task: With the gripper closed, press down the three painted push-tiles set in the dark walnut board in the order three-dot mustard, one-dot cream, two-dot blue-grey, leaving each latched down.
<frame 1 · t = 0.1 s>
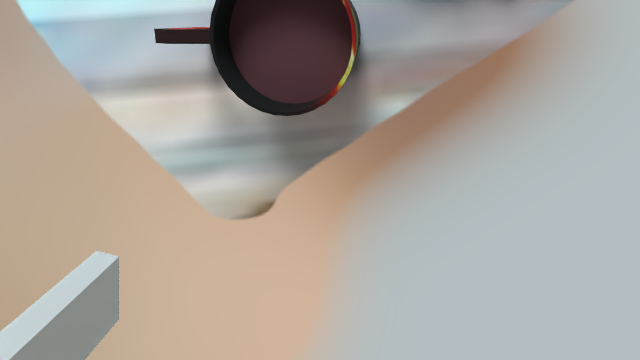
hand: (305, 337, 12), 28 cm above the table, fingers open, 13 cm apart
mug: (289, 45, 36), on the table
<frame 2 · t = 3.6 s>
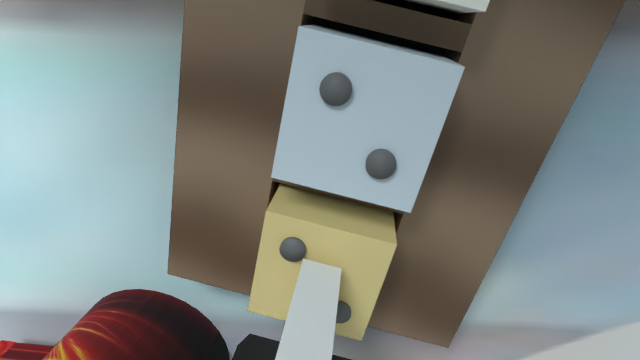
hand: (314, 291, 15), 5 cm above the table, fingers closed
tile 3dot: (321, 256, 16), point 3 cm above the table, slide at 0.2 cm, touching gripper
board: (361, 98, 16), on the table
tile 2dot: (360, 115, 13), point 3 cm above the table, slide at 0.0 cm
mug: (134, 353, 25), on the table
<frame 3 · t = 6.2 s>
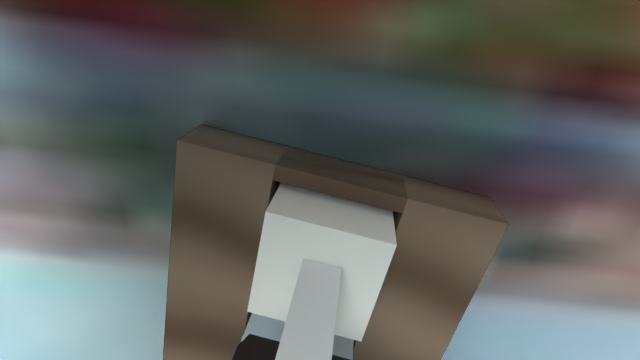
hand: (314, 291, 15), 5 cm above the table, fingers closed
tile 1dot: (321, 256, 16), point 3 cm above the table, slide at 0.1 cm, touching gripper
board: (302, 317, 22), on the table
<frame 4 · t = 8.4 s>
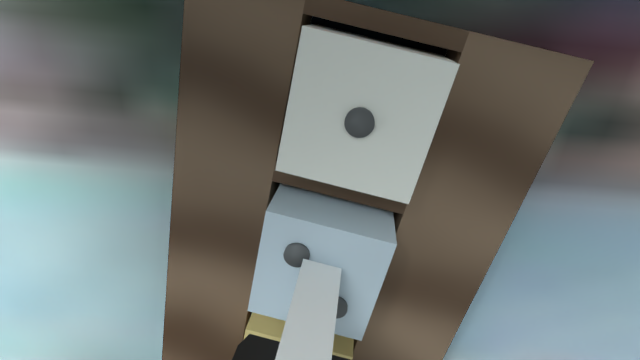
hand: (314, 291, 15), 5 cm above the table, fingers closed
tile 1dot: (360, 110, 14), point 2 cm above the table, slide at 0.7 cm
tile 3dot: (295, 352, 19), point 2 cm above the table, slide at 0.7 cm
board: (328, 224, 19), on the table
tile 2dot: (321, 256, 16), point 3 cm above the table, slide at 0.3 cm, touching gripper
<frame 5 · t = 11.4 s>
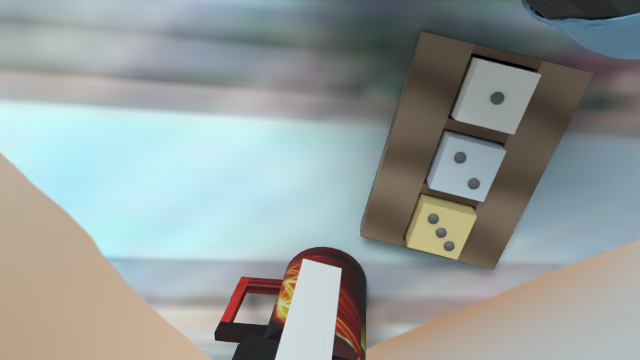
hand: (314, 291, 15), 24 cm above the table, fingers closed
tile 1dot: (490, 94, 32), point 2 cm above the table, slide at 0.7 cm
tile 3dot: (438, 223, 37), point 2 cm above the table, slide at 0.7 cm
board: (457, 155, 37), on the table
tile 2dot: (462, 163, 34), point 2 cm above the table, slide at 0.7 cm
mug: (309, 285, 45), on the table
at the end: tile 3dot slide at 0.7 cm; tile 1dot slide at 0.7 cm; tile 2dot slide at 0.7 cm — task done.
